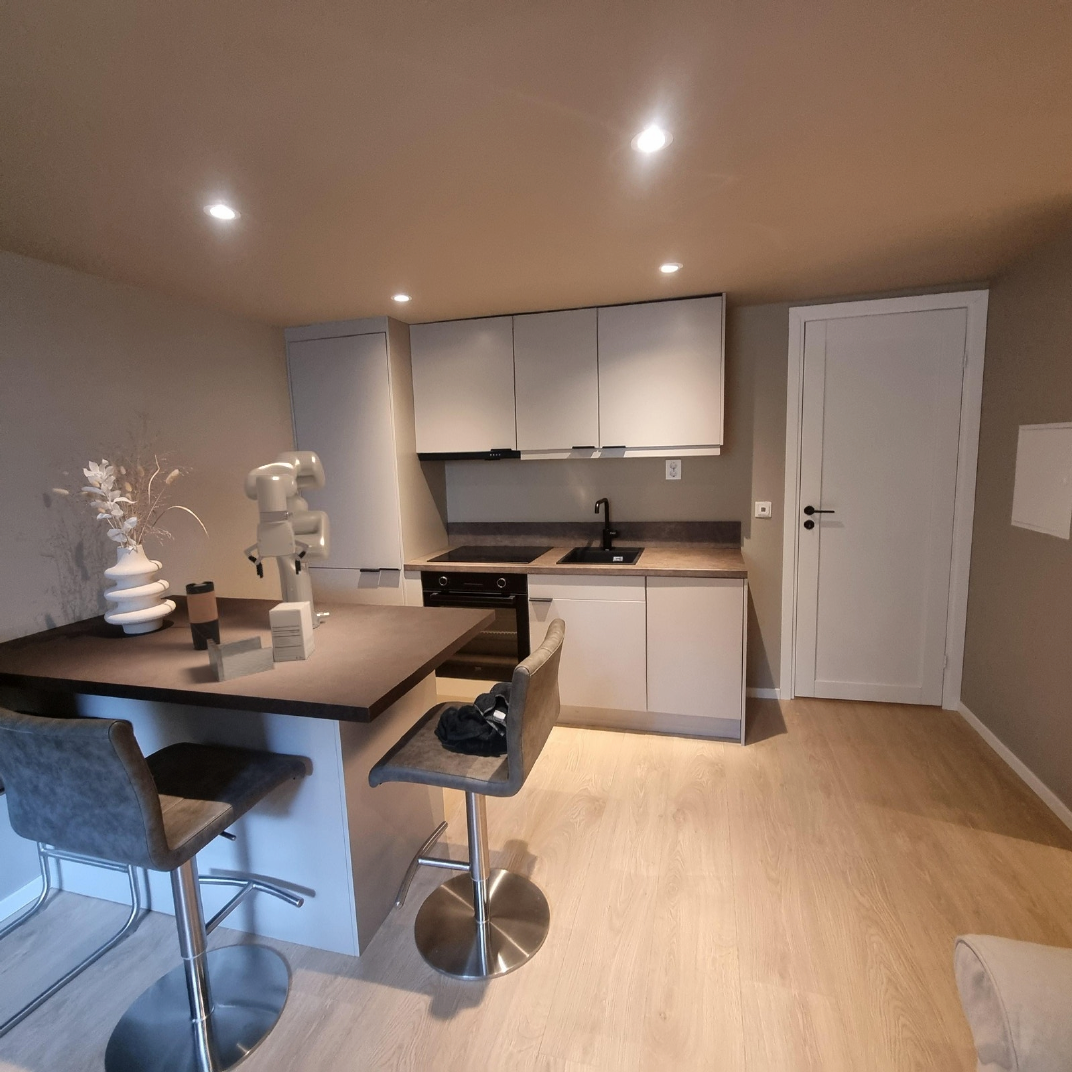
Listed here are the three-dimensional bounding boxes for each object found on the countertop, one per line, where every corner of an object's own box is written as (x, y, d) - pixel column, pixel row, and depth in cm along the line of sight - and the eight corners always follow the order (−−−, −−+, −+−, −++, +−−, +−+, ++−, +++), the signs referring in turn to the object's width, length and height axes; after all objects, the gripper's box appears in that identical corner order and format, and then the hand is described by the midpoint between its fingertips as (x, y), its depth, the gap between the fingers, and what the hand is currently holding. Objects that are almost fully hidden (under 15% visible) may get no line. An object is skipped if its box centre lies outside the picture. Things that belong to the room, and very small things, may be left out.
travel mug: (208, 651, 172) (200, 586, 169) (187, 650, 173) (178, 586, 171) (227, 642, 179) (219, 581, 177) (206, 642, 181) (198, 581, 178)
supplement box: (284, 651, 168) (279, 602, 166) (315, 649, 169) (310, 600, 167) (273, 662, 159) (267, 610, 157) (306, 660, 160) (300, 608, 158)
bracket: (261, 655, 165) (258, 629, 164) (274, 668, 154) (271, 640, 153) (210, 667, 157) (206, 639, 156) (219, 682, 146) (216, 652, 145)
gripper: (306, 514, 170) (311, 570, 172) (242, 519, 164) (248, 577, 166) (305, 516, 163) (311, 574, 165) (238, 520, 157) (245, 581, 159)
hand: (279, 575), depth 166 cm, fingers open, 9 cm apart
